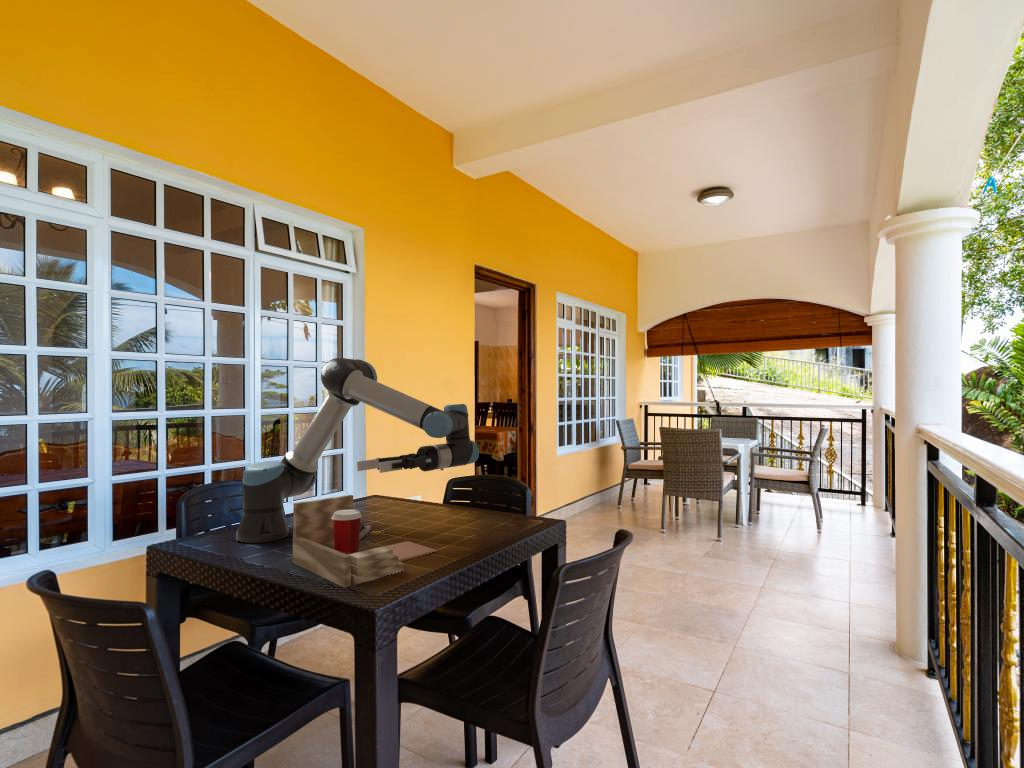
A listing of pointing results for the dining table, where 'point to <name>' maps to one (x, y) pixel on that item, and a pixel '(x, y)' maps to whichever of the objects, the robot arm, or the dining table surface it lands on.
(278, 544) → the dining table surface
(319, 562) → the oak rack
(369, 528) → the packaged product
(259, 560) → the dining table surface
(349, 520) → the paper cup
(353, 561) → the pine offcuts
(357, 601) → the dining table surface
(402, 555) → the terracotta mat
